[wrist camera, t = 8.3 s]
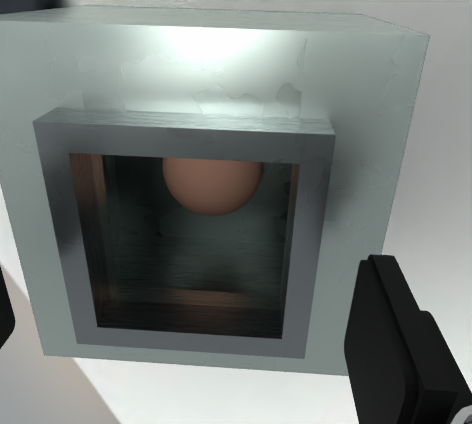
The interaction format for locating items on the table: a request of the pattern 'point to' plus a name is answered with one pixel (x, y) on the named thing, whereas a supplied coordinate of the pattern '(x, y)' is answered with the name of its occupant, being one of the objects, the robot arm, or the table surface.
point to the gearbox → (200, 147)
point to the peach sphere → (211, 183)
